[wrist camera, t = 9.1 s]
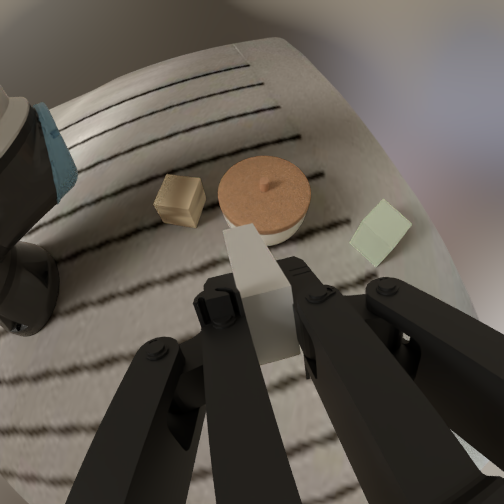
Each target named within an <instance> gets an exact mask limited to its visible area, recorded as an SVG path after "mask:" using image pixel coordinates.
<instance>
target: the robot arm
mask: <svg viewBox="0 0 504 504" xmlns="http://www.w3.org/2000/svg"><path fill="white" fill-rule="evenodd" d="M77 178H78V172H77V168H76V166H75V163H74V161H73V159H72V157H71V154H70V152H69V150H68V148H67V146H66V144H65V142H64V140H63V138H62V136H61V134H60V133H59V130H58V128H57V126H56V124H55V121H54V119H53V117H52V115H51V113H50V111H49V110H48V108H47V106H46V105H45V104H44V103H43V102H41V103H39V104H36V105H34V106H33V107H31V105H30V104H29V102H28V101H27V99H25V98H24V97H8V96H7V95H6V93H5V91H4V90H3V88H2V87H1V85H0V325H1V326H2V327H3V328H4V329H5V330H7V331H8V332H10V333H13V334H16V335H19V336H30V335H33V334H35V333H36V332H38V331H39V330H40V329H41V328H42V327H43V326H44V325H45V324H46V322H47V321H48V319H49V318H50V316H51V314H52V312H53V310H54V307H55V304H56V300H57V296H58V290H59V274H58V269H57V265H56V263H55V260H54V259H53V257H52V256H51V255H50V254H49V253H48V252H47V251H45V250H44V249H43V248H41V247H40V246H38V245H36V244H32V243H27V242H22V241H19V240H20V239H21V238H22V237H23V236H24V235H25V234H26V233H27V232H28V231H29V230H30V229H31V228H32V227H33V226H34V225H35V224H36V223H37V222H38V221H39V220H40V219H41V218H42V217H43V216H44V215H45V214H46V213H47V212H48V211H50V210H51V209H52V208H53V207H54V206H55V205H56V204H59V202H60V200H61V198H62V197H63V196H64V195H65V194H66V193H67V192H68V191H69V190H71V189H72V188H73V187H74V185H75V183H76V181H77ZM222 231H223V235H224V239H225V243H226V247H227V251H228V255H229V260H230V264H231V268H232V272H233V273H229V274H224V275H220V276H216V277H212V278H208V280H207V281H206V283H205V284H204V291H203V292H201V293H199V294H198V295H197V296H196V297H195V299H194V302H193V305H194V308H195V310H196V313H197V316H198V319H199V322H200V325H201V332H200V333H199V334H198V335H196V336H195V337H193V338H192V339H190V340H188V341H185V342H183V343H181V344H178V342H177V340H175V339H173V338H171V337H159V338H155V339H152V340H150V341H148V342H146V343H145V344H144V345H142V346H141V347H140V349H139V350H138V351H137V353H136V355H135V357H134V358H133V360H132V362H131V364H130V366H129V368H128V370H127V372H126V374H125V376H124V378H123V380H122V382H121V383H120V385H119V387H118V389H117V391H116V393H115V395H114V397H113V399H112V401H111V403H110V405H109V407H108V409H107V412H106V414H105V416H104V418H103V420H102V422H101V424H100V426H99V428H98V430H97V432H96V435H95V437H94V439H93V441H92V443H91V445H90V447H89V450H88V452H87V454H86V456H85V458H84V461H83V463H82V465H81V468H80V470H79V472H78V474H77V477H76V479H75V481H74V484H73V486H72V489H71V491H70V493H69V496H68V498H67V501H66V503H65V504H186V500H187V495H188V490H189V486H190V481H191V476H192V472H193V467H194V463H195V458H196V453H197V449H198V444H199V440H200V435H201V431H202V426H203V422H204V417H205V413H207V424H208V435H209V445H210V455H211V464H212V473H213V481H214V489H215V496H216V504H302V502H301V499H300V496H299V493H298V490H297V487H296V483H295V480H294V477H293V474H292V471H291V468H290V465H289V461H288V458H287V455H286V452H285V449H284V445H283V442H282V439H281V436H280V432H279V429H278V426H277V422H276V419H275V416H274V412H273V409H272V406H271V402H270V399H269V396H268V392H267V389H266V385H265V382H264V379H263V375H262V372H261V368H260V365H263V364H267V363H271V362H275V361H278V360H282V359H285V358H289V357H292V356H296V355H299V354H300V347H301V349H302V351H303V354H304V362H305V371H306V379H310V377H311V379H312V381H313V383H314V385H315V387H316V390H317V392H318V394H319V396H320V398H321V400H322V403H323V405H324V407H325V409H326V411H327V414H328V416H329V418H330V420H331V422H332V424H333V427H334V429H335V431H336V433H337V435H338V438H339V440H340V442H341V444H342V446H343V448H344V451H345V453H346V455H347V457H348V459H349V462H350V464H351V466H352V468H353V470H354V472H355V475H356V477H357V479H358V481H359V483H360V486H361V488H362V490H363V492H364V494H365V496H366V499H367V501H368V503H369V504H504V478H502V477H500V476H486V475H485V474H483V473H482V472H481V471H480V470H479V469H478V468H477V466H476V465H475V463H474V462H473V461H472V459H471V458H470V456H469V455H468V453H467V452H466V451H465V449H464V448H463V446H462V445H461V444H460V442H459V441H458V439H457V438H456V437H455V435H454V434H453V433H452V431H453V432H455V433H456V434H457V435H458V436H460V437H461V438H462V439H463V440H465V441H466V442H467V443H468V444H470V445H471V446H472V447H473V448H475V449H476V450H477V451H478V452H480V453H481V454H482V455H483V456H485V457H486V458H487V459H489V460H490V461H491V462H492V463H494V464H495V465H496V466H497V467H499V468H500V469H501V470H502V471H504V335H503V334H502V333H500V332H498V331H496V330H494V329H493V328H491V327H489V326H487V325H485V324H484V323H482V322H480V321H478V320H476V319H475V318H473V317H471V316H469V315H467V314H465V313H463V312H462V311H460V310H458V309H456V308H454V307H452V306H450V305H448V304H447V303H445V302H443V301H441V300H439V299H437V298H435V297H433V296H431V295H429V294H427V293H425V292H423V291H421V290H419V289H417V288H416V287H414V286H412V285H410V284H408V283H406V282H404V281H402V280H399V279H396V278H390V277H382V278H378V279H375V280H372V281H371V282H370V283H368V284H367V286H366V294H362V295H352V296H343V295H342V294H341V293H340V291H339V290H338V289H336V288H335V287H333V286H329V285H323V284H322V283H321V281H320V280H319V279H318V278H317V277H316V275H315V274H314V273H313V272H312V271H311V269H310V268H309V267H308V266H307V264H306V263H305V262H304V261H303V260H302V259H299V258H297V257H295V256H293V257H289V258H285V259H281V260H277V261H276V260H275V259H274V257H273V255H272V254H271V252H270V251H269V249H268V247H267V246H266V244H265V242H264V241H263V239H262V238H261V236H260V234H259V233H258V231H257V230H256V228H255V226H254V225H253V223H251V224H247V225H243V226H238V227H234V228H230V229H226V230H222ZM403 333H405V334H407V335H408V336H410V341H408V340H405V339H404V338H402V337H403ZM299 344H300V347H299ZM309 374H310V375H309ZM449 428H450V429H451V430H452V431H451V430H450V429H449Z"/></svg>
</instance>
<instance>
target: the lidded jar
mask: <svg viewBox="0 0 504 504" xmlns="http://www.w3.org/2000/svg"><path fill="white" fill-rule="evenodd" d="M310 199H311V189H310V185H309V182H308V180H307V178H306V176H305V175H304V174H303V172H302V171H301V170H300V169H299V168H298V167H296V166H295V165H294V164H292V163H290V162H289V161H286V160H284V159H281V158H278V157H273V156H256V157H250V158H247V159H244V160H242V161H240V162H238V163H236V164H235V165H233V166H232V167H231V168H230V169H229V170H228V171H227V172H226V173H225V174H224V176H223V177H222V179H221V181H220V184H219V188H218V200H219V204H220V207H221V210H222V212H223V215H224V218H225V220H226V222H227V224H228V225H229V227H230V228H234V227H238V226H243V225H247V224H251V223H253V225H254V226H255V228H256V230H257V231H258V233H259V234H260V236H261V238H262V239H263V241H264V242H265V244H266V246H272V245H276V244H279V243H281V242H283V241H285V240H287V239H289V238H290V237H291V236H292V235H293V234H294V233H295V232H296V231H297V230H298V229H299V227H300V225H301V224H302V222H303V220H304V218H305V215H306V212H307V210H308V207H309V204H310Z"/></svg>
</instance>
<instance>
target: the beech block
mask: <svg viewBox="0 0 504 504" xmlns="http://www.w3.org/2000/svg"><path fill="white" fill-rule="evenodd" d="M205 201H206V196H205V193H204V189H203V186H202V182H201V179H200V178H196V177H187V176H178V175H169V174H166V176H165V179H164V181H163V183H162V185H161V188H160V190H159V192H158V194H157V197H156V199H155V201H154V204H153V205H154V207H155V208H156V210H157V212H158V214H159V215H160V217H161V219H162V220H163V222H164V223H168V224H174V225H180V226H186V227H191V228H196V227H197V224H198V221H199V218H200V215H201V212H202V209H203V207H204V204H205Z"/></svg>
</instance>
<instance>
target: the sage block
mask: <svg viewBox="0 0 504 504" xmlns="http://www.w3.org/2000/svg"><path fill="white" fill-rule="evenodd" d="M411 225H412V223H410V222H409V221H408V220H407V219H406V218H405V217H404V216H403V215H402V214H400V213H399V212H398V211H397V210H396V209H395V208H394V207H392V206H391V205H390V204H389V203H388V202H387V201H386V200H384V199H382V200H381V201H380V203H379V204H378V205H377V206H376V207H375V208H374V209H373V210H372V211H371V212H370V213H369V214H368V215H367V216H366V217H365V218H364V219H363V221H362V222H361V224H360V225H359V227H358V229H357V230H356V232H355V234H354V236H353V237H352V239H351V241H350V242H349V243H350V244H351V245H352V246H353V247H354V248H355V249H357V250H358V251H359V252H360V253H361V254H362V255H363V256H364V257H365V258H366V259H367V260H368V261H370V262H371V263H372V264H373V265H374V266H375V267H377V266H378V265H379V264H380V263H381V262H382V261H383V259H384V258H385V257H386V256H387V255H388V254H389V253H390V252H391V251H392V250H393V248H394V247H395V246H396V245H397V243H398V242H399V241H400V240H401V238H402V237H403V236H404V234H405V233H406V232H407V231H408V229H409V228H410V227H411Z"/></svg>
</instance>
